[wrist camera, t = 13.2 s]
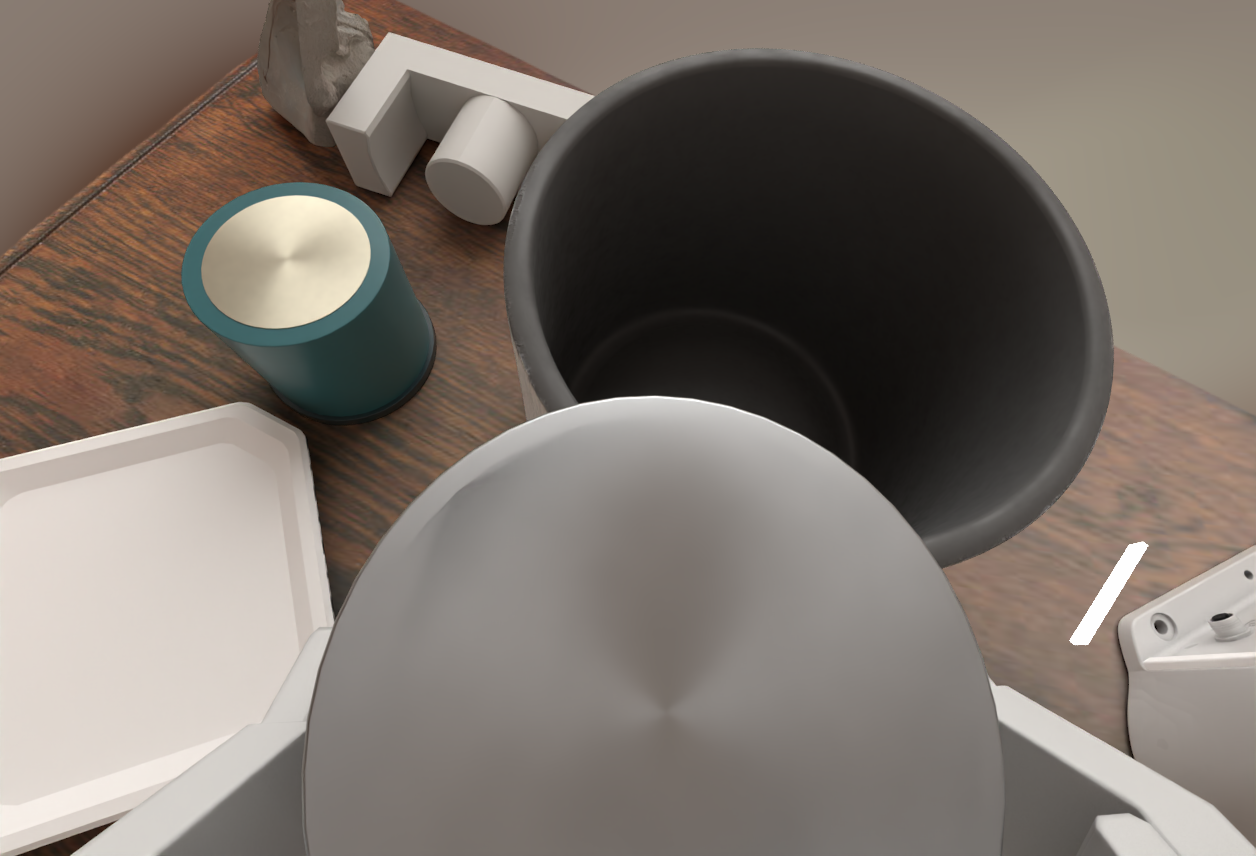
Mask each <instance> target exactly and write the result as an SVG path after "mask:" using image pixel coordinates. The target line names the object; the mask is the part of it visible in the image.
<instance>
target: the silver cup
mask: <svg viewBox="0 0 1256 856" xmlns="http://www.w3.org/2000/svg"><path fill="white" fill-rule="evenodd" d="M301 777H302V824H303V835H304V842H305V849H306V856H1002V848H1003V834H1004V821H1005V807H1006V803H1005V780H1004V756H1003V748H1002V742H1001V736H1000V729H999V723H998V716H997V710H996V704H995V700H994V697H993V693H992V689H991V686H990V682H989V678H988V674H987V671H986V667H985V663H984V659H983V657H982V654H981V652H980V649H979V646H978V644H977V641H976V639H975V636H974V634H973V631H972V628H971V626H970V623H969V621H968V618H967V615H966V614H965V612H964V610H963V608H962V606H961V604H960V602H959V600H958V598H957V596H956V594H955V592H954V590H953V588H952V586H951V585H950V583H949V581H948V579H947V577H946V575H945V574H944V572H943V570H942V569H941V567H940V566H939V564H938V563H937V561H936V560H935V558H934V557H933V555H932V554H931V552H930V551H929V549H928V548H927V546H926V545H925V543H924V542H923V540H922V539H921V538H920V536H919V535H918V534H917V533H916V532H915V530H914V529H913V528H912V527H911V526H910V524H909V523H908V522H907V521H906V520H905V518H904V517H903V516H902V515H901V514H900V512H899V511H898V510H897V509H896V507H895V506H894V505H893V504H892V503H891V502H889V501H888V500H887V499H886V498H885V497H884V496H883V495H882V494H881V493H880V492H879V491H878V490H877V489H876V488H875V487H874V486H873V485H872V484H871V483H870V482H869V481H868V480H867V479H866V478H865V477H863V476H862V475H861V474H859V473H858V472H857V471H855V470H854V469H853V468H852V467H850V466H849V465H848V464H846V463H845V462H844V461H843V460H841V459H840V458H839V457H837V456H836V455H835V454H833V453H832V452H830V451H829V450H827V449H825V448H824V447H822V446H820V445H819V444H817V443H815V442H814V441H812V440H810V439H809V438H807V437H805V436H804V435H802V434H801V433H798V432H796V431H794V430H792V429H790V428H788V427H785V426H783V425H781V424H779V423H777V422H775V421H772V420H770V419H768V418H766V417H763V416H760V415H757V414H754V413H751V412H748V411H745V410H741V409H738V408H735V407H732V406H729V405H724V404H719V403H714V402H709V401H704V400H699V399H694V398H683V397H670V396H657V395H653V396H629V397H615V398H609V399H603V400H597V401H591V402H585V403H580V404H576V405H573V406H569V407H566V408H563V409H559V410H556V411H552V412H549V413H545V414H543V415H540V416H538V417H536V418H533V419H531V420H529V421H526V422H524V423H522V424H519V425H517V426H515V427H512V428H510V429H508V430H506V431H504V432H503V433H501V434H499V435H497V436H496V437H494V438H492V439H491V440H489V441H487V442H485V443H484V444H482V445H480V446H478V447H477V448H475V449H473V450H472V451H471V452H469V453H468V454H467V455H465V456H464V457H463V458H461V459H460V460H459V461H457V462H456V463H455V464H453V465H452V466H451V467H449V468H448V469H447V470H445V471H444V472H443V473H441V474H440V475H439V476H438V477H437V478H436V479H435V480H434V481H433V482H432V483H431V484H430V485H429V486H428V487H427V488H426V489H425V490H424V491H422V492H421V493H420V494H419V495H418V496H417V497H416V498H415V499H414V500H413V501H412V502H411V503H410V504H409V505H408V506H407V508H406V509H405V510H404V511H403V512H402V514H401V515H400V516H399V517H398V518H397V520H396V521H395V522H394V523H393V525H392V526H391V527H390V528H389V529H388V531H387V532H386V533H385V534H384V536H383V537H382V538H381V539H380V541H379V542H378V544H377V546H376V547H375V549H374V550H373V552H372V553H371V555H370V556H369V558H368V560H367V561H366V563H365V564H364V566H363V567H362V569H361V570H360V572H359V574H358V575H357V577H356V578H355V580H354V583H353V585H352V587H351V589H350V591H349V593H348V595H347V597H346V599H345V601H344V603H343V605H342V607H341V609H340V611H339V613H338V615H337V617H336V619H335V622H334V625H333V627H332V630H331V633H330V636H329V639H328V642H327V645H326V647H325V650H324V653H323V656H322V659H321V662H320V665H319V667H318V671H317V676H316V680H315V685H314V689H313V694H312V698H311V703H310V707H309V712H308V716H307V722H306V732H305V742H304V752H303V762H302V772H301Z"/></svg>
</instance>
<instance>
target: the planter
mask: <svg viewBox="0 0 1256 856" xmlns="http://www.w3.org/2000/svg"><path fill="white" fill-rule="evenodd" d="M504 293H505V303H506V310H507V316H508V322H509V328H510V333H511V338H512V343H513V349H514V354H515V359H516V364H517V369H518V374H519V380H520V385H521V391H522V396H523V402H524V408H525V414H526V420H527V421H529V420H531V419H533V418H536V417H538V416H540V415H543V414H545V413H549V412H552V411H556V410H559V409H563V408H566V407H569V406H573V405H576V404H580V403H585V402H591V401H597V400H603V399H609V398H615V397H629V396H653V395H657V396H670V397H683V398H694V399H699V400H704V401H709V402H714V403H719V404H724V405H729V406H732V407H735V408H738V409H741V410H745V411H748V412H751V413H754V414H757V415H760V416H763V417H766V418H768V419H770V420H772V421H775V422H777V423H779V424H781V425H783V426H785V427H788V428H790V429H792V430H794V431H796V432H798V433H801V434H802V435H804V436H805V437H807V438H809V439H810V440H812V441H814V442H815V443H817V444H819V445H820V446H822V447H824V448H825V449H827V450H829V451H830V452H832V453H833V454H835V455H836V456H837V457H839V458H840V459H841V460H843V461H844V462H845V463H846V464H848V465H849V466H850V467H852V468H853V469H854V470H855V471H857V472H858V473H859V474H861V475H862V476H863V477H865V478H866V479H867V480H868V481H869V482H870V483H871V484H872V485H873V486H874V487H875V488H876V489H877V490H878V491H879V492H880V493H881V494H882V495H883V496H884V497H885V498H886V499H887V500H888V501H889V502H891V503H892V504H893V505H894V506H895V507H896V509H897V510H898V511H899V512H900V514H901V515H902V516H903V517H904V518H905V520H906V521H907V522H908V523H909V524H910V526H911V527H912V528H913V529H914V530H915V532H916V533H917V534H918V535H919V536H920V538H921V539H922V540H923V542H924V543H925V545H926V546H927V548H928V549H929V551H930V552H931V554H932V555H933V557H934V558H935V560H936V561H937V563H938V564H939V566H940V567H941V569H942V568H945V567H948V566H952V565H955V564H957V563H960V562H963V561H966V560H968V559H971V558H973V557H975V556H978V555H980V554H982V553H984V552H986V551H988V550H990V549H992V548H994V547H996V546H998V545H1000V544H1002V543H1003V542H1005V541H1007V540H1009V539H1010V538H1012V537H1013V536H1015V535H1017V534H1018V533H1019V532H1021V531H1022V530H1024V529H1025V528H1027V527H1028V526H1029V525H1030V524H1032V523H1033V522H1034V521H1036V520H1037V519H1038V518H1039V517H1040V516H1041V515H1043V514H1044V513H1045V512H1046V511H1047V510H1048V509H1049V508H1050V507H1051V506H1052V505H1053V504H1054V503H1055V502H1056V501H1057V500H1058V499H1059V498H1060V497H1061V496H1062V494H1063V493H1064V492H1065V491H1066V490H1067V488H1068V487H1069V486H1070V485H1071V483H1072V482H1073V481H1074V479H1075V478H1076V476H1077V475H1078V473H1079V472H1080V471H1081V469H1082V467H1083V466H1084V464H1085V462H1086V461H1087V459H1088V457H1089V455H1090V453H1091V451H1092V449H1093V447H1094V445H1095V443H1096V441H1097V438H1098V436H1099V433H1100V431H1101V428H1102V425H1103V422H1104V419H1105V416H1106V412H1107V408H1108V404H1109V399H1110V394H1111V387H1112V380H1113V365H1114V348H1113V335H1112V326H1111V319H1110V314H1109V309H1108V304H1107V300H1106V296H1105V292H1104V289H1103V286H1102V282H1101V279H1100V276H1099V274H1098V271H1097V268H1096V266H1095V263H1094V261H1093V258H1092V256H1091V254H1090V252H1089V250H1088V247H1087V245H1086V243H1085V241H1084V240H1083V238H1082V236H1081V234H1080V232H1079V230H1078V228H1077V227H1076V225H1075V223H1074V222H1073V220H1072V219H1071V217H1070V215H1069V214H1068V213H1067V211H1066V209H1065V208H1064V206H1063V205H1062V203H1061V202H1060V201H1059V199H1058V198H1057V196H1056V195H1055V194H1054V193H1053V191H1052V190H1051V189H1050V188H1049V186H1048V185H1047V184H1046V183H1045V181H1044V180H1043V179H1042V178H1041V177H1040V176H1039V174H1038V173H1037V172H1036V171H1035V170H1034V169H1033V168H1032V167H1031V166H1030V165H1029V164H1028V163H1027V162H1026V161H1025V160H1024V159H1023V158H1022V157H1021V156H1020V155H1019V154H1018V153H1017V152H1016V151H1015V150H1014V149H1013V148H1012V147H1011V146H1010V145H1008V144H1007V143H1006V142H1005V141H1004V140H1003V139H1002V138H1000V137H999V136H998V135H997V134H995V133H994V132H993V131H992V130H990V129H989V128H988V127H987V126H985V125H984V124H982V123H981V122H980V121H978V120H977V119H976V118H974V117H973V116H971V115H970V114H968V113H967V112H965V111H964V110H962V109H960V108H959V107H958V106H956V105H954V104H953V103H951V102H949V101H948V100H946V99H944V98H942V97H940V96H939V95H937V94H935V93H933V92H931V91H929V90H927V89H925V88H923V87H921V86H919V85H917V84H915V83H912V82H910V81H908V80H906V79H903V78H901V77H898V76H896V75H894V74H891V73H888V72H886V71H883V70H880V69H877V68H874V67H871V66H868V65H865V64H861V63H857V62H854V61H850V60H847V59H842V58H838V57H834V56H829V55H824V54H818V53H811V52H804V51H796V50H785V49H758V48H755V49H734V50H723V51H715V52H707V53H702V54H696V55H692V56H687V57H683V58H679V59H676V60H672V61H668V62H665V63H662V64H659V65H656V66H653V67H651V68H648V69H645V70H643V71H640V72H638V73H636V74H634V75H631V76H630V77H628V78H625V79H623V80H622V81H620V82H618V83H616V84H614V85H613V86H611V87H609V88H607V89H606V90H604V91H602V92H601V93H600V94H598V95H597V96H595V97H594V98H592V99H591V100H590V101H588V102H587V103H586V104H584V105H583V106H582V107H581V108H579V109H578V110H577V111H576V112H575V113H574V114H572V115H571V116H570V117H569V118H568V119H567V120H566V121H565V122H564V123H563V124H562V125H561V126H560V127H559V128H558V130H557V131H556V132H555V133H554V134H553V135H552V136H551V138H550V139H549V140H548V141H547V143H546V144H545V145H544V147H543V148H542V149H541V151H540V152H539V154H538V155H537V157H536V159H535V160H534V162H533V164H532V165H531V167H530V169H529V171H528V172H527V174H526V176H525V179H524V181H523V183H522V185H521V187H520V190H519V192H518V195H517V197H516V200H515V203H514V206H513V209H512V213H511V216H510V220H509V225H508V230H507V235H506V242H505V251H504Z"/></svg>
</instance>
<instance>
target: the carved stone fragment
mask: <svg viewBox="0 0 1256 856" xmlns="http://www.w3.org/2000/svg"><path fill="white" fill-rule="evenodd" d="M373 46H374V43H373V38H372V34H371V31H370V28H369V25H368V22H367V21H366V20H365V19H363V18H361V17H360V16H359V15H358V14H352V13H347V12H345V11H344V4H343V2H342V0H271V1H270V3H269V7H268V11H267V16H266V22H265V24H264V27H263V30H262V34H261V38H260V43H259V50H258V66H257V67H258V74H259V80H260V84H261V88H262V93H263V96H264V98H265V99H266V100H267V101H268V103H269V104H270V105H271V106H272V108H273V109H274V110H276V111H277V112H278V113H279V114H280V115H282V116H283V117H284V118H285V119H286V120H287V121H289V122H290V123H292V125H293V126H295V128H297V129H298V130H299V131H301V132H302V133H303V134H304V135H305V136H306V138H307V139H308V140H309V142H311V143H313V144H314V145H317V146H322V147H333V146H335V145H336V142H335V140H334V138H333V136H332V134H331V132H330V130H329V127H328V125H327V123H326V119H327V118H328V116H329V115H330V114H331V112H332V111H333V109H334V108H335V107H336V105H337V104H338V102H339V101H340V100H341V98H342V97H343V95H344V94H345V93H346V91H347V90H348V88H349V87H350V86H351V84H352V83H353V81H354V80H355V79H356V77H357V76H358V74H359V73H360V72H361V70H362V69H363V67H364V66H365V65H366V63H367V62H368V60H369V59H370V58H371V56H372V55H373V53H374V52H375V50H374V47H373Z"/></svg>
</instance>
